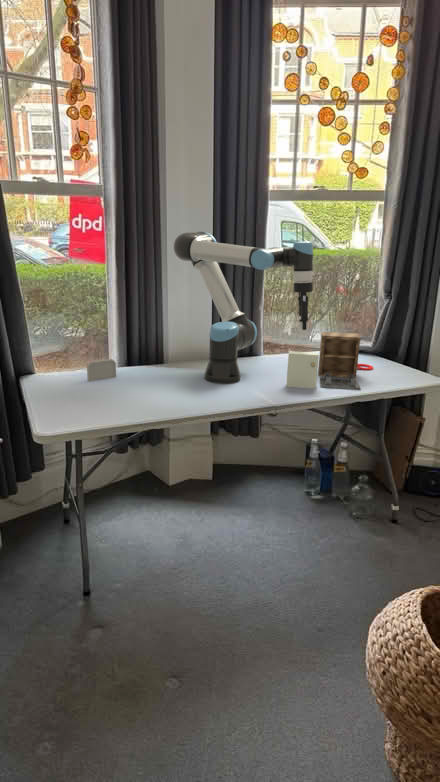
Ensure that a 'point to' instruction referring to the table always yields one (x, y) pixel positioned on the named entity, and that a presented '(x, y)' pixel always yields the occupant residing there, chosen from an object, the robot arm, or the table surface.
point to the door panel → (302, 369)
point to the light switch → (101, 369)
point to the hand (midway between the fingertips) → (303, 334)
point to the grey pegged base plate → (339, 382)
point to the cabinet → (338, 354)
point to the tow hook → (364, 365)
